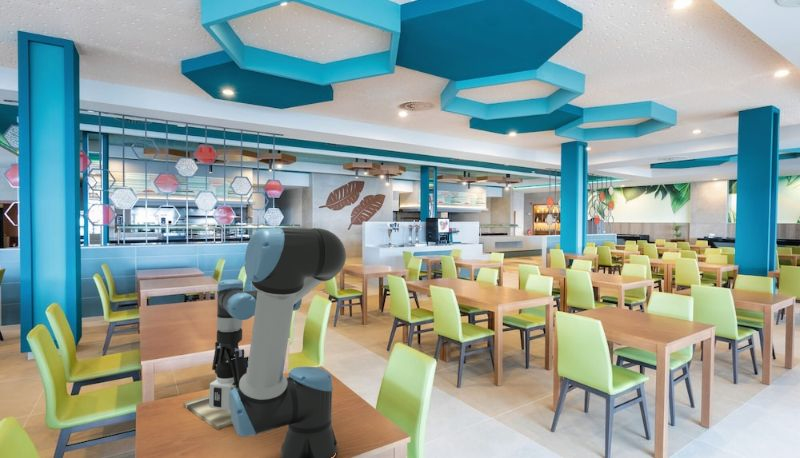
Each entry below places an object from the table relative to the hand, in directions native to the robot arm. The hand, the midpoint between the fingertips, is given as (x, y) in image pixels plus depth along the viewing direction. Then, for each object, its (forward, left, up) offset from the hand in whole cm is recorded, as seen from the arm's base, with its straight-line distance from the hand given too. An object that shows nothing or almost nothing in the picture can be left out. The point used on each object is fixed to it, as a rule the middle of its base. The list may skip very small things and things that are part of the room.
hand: (228, 398), depth 132 cm
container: (0, 0, -2) cm, 2 cm away
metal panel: (+9, 0, -7) cm, 11 cm away
